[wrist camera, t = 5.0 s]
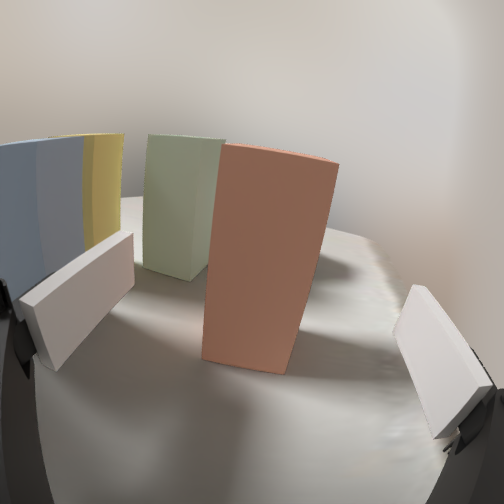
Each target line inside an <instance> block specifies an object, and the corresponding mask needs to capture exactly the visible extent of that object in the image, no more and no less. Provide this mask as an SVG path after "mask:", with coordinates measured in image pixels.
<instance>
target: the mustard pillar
mask: <svg viewBox="0 0 504 504" xmlns="http://www.w3.org/2000/svg"><path fill="white" fill-rule="evenodd" d="M75 136H84V147H83V168H82V207H83V229H84V243H85V252H86V251H88V250H89V249H91V248H92V247H94V246H96V245H97V244H99V243H100V242H102V241H103V240H105V239H107V238H108V237H110V236H111V235H113V234H115V233H116V232H118V231H120V195H121V170H122V153H123V142H124V134H80V135H79V134H78V135H66V136H55V137H48V138H57V137H75Z"/></svg>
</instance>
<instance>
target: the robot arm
mask: <svg viewBox="0 0 504 504" xmlns="http://www.w3.org/2000/svg"><path fill="white" fill-rule="evenodd" d="M134 285H135V277H134V248H133V233H132V232H126V231H121V230H120V231H118V232H116V233H115V234H113V235H111V236H110V237H108V238H107V239H105V240H103V241H102V242H100V243H99V244H97V245H96V246H94V247H92V248H91V249H89V250H88V251H86V252H85V253H83V254H82V255H80V256H79V257H77V258H76V259H74V260H73V261H71V262H70V263H68V264H67V265H65V266H64V267H63V268H61V269H60V270H58V271H55V272H53V273H50V274H49V275H47V276H46V277H44V278H43V279H42V280H41V281H39V282H37V283H36V284H35V286H32V287H31V288H29V289H28V290H27V291H25V292H24V293H23V294H21V295H20V296H19V297H17V298H16V299H15V300H13V301H11V297H10V294H9V290H8V287H7V283H6V281H5V280H4V279H2V278H0V504H54V501H53V498H52V494H51V491H50V487H49V483H48V479H47V475H46V470H45V466H44V461H43V456H42V450H41V444H40V438H39V431H38V422H37V413H36V400H35V378H34V361H33V358H32V356H33V355H34V354H35V353H36V352H37V354H38V356H39V359H40V361H41V363H42V364H43V365H45V366H46V367H48V368H50V369H52V370H54V371H55V372H57V371H58V369H59V368H60V367H61V366H62V365H63V363H64V362H65V361H66V360H67V359H68V357H69V356H70V355H71V354H72V353H73V352H74V350H75V349H76V348H77V347H78V346H79V345H80V344H81V342H82V341H83V340H84V339H85V338H86V337H87V336H88V335H89V333H90V332H91V331H92V330H93V329H94V328H95V327H96V326H97V325H98V323H99V322H100V321H101V320H102V319H103V318H104V317H105V316H106V315H107V314H108V313H109V311H110V310H111V309H112V308H113V307H114V306H115V305H116V304H117V303H118V302H119V301H120V300H121V299H122V298H123V297H124V295H125V294H126V293H127V292H128V291H129V290H130V289H131V288H132V287H133V286H134ZM392 333H393V335H394V337H395V339H396V342H397V344H398V346H399V349H400V351H401V353H402V356H403V358H404V361H405V363H406V365H407V368H408V370H409V373H410V375H411V378H412V381H413V383H414V386H415V388H416V391H417V394H418V396H419V399H420V402H421V405H422V408H423V410H424V413H425V416H426V419H427V422H428V425H429V428H430V431H431V434H432V438H433V439H439V438H445V437H448V436H449V435H450V434H451V433H452V432H453V431H454V430H455V429H456V428H457V427H458V428H459V431H460V434H459V435H458V436H457V437H456V438H455V439H453V440H452V441H451V442H450V443H449V444H448V445H447V446H446V447H445V448H444V450H443V452H445V451H446V450H448V449H449V448H450V447H452V448H451V450H450V452H448V454H449V455H448V458H447V460H446V463H445V465H444V467H443V470H442V472H441V474H440V476H439V478H438V480H437V483H436V485H435V487H434V489H433V491H432V493H431V495H430V497H429V498H428V500H427V502H426V504H504V389H499V390H498V389H497V387H496V386H495V384H494V382H493V381H492V379H491V377H490V376H489V374H488V372H487V371H486V369H485V367H483V364H482V362H481V361H480V360H479V358H478V356H477V355H476V353H475V352H474V350H473V349H472V348H471V347H470V346H469V345H468V344H467V342H466V341H465V340H464V338H463V337H462V335H461V334H460V332H459V331H458V329H457V328H456V327H455V325H454V324H453V322H452V321H451V319H450V318H449V317H448V315H447V314H446V313H445V312H444V310H443V309H442V307H441V306H440V305H439V303H438V302H437V301H436V299H435V298H434V297H433V295H432V294H431V293H430V292H429V290H428V289H427V288H426V287H425V286H420V285H415V284H413V285H412V288H411V290H410V293H409V295H408V297H407V300H406V302H405V304H404V307H403V309H402V311H401V314H400V316H399V318H398V320H397V322H396V324H395V327H394V329H393V331H392Z"/></svg>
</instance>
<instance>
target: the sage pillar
mask: <svg viewBox="0 0 504 504" xmlns="http://www.w3.org/2000/svg"><path fill="white" fill-rule="evenodd" d="M147 142H148V143H147V153H146V164H145V178H144V196H143V240H142V242H143V268H146V269H149V270H152V271H155V272H159V273H162V274H165V275H168V276H172V277H175V278H178V279H182V280H185V281H189V282H191V281H192V280H193V279H194V278H195V277H196V276H197V275H198V274H199V273H200V272H201V271H202V270H203V269H204V268H205V267H206V266H207V265H208V260H209V249H210V239H211V229H212V219H213V210H214V201H215V192H216V184H217V176H218V168H219V160H220V152H221V145H222V144H225V142H226V140H224V139H215V138H205V137H194V136H182V135H151V134H149V135H148V141H147Z"/></svg>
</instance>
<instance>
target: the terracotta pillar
mask: <svg viewBox="0 0 504 504" xmlns="http://www.w3.org/2000/svg"><path fill="white" fill-rule="evenodd" d="M338 168H339V164H338V163H335V162H333V161H330V160H327V159H325V158H321V157H316V156H311V155H307V154H301V153H296V152H291V151H285V150H279V149H273V148H267V147H261V146H254V145H247V144H222V145H221V152H220V160H219V168H218V176H217V184H216V192H215V201H214V210H213V219H212V229H211V239H210V249H209V260H208V271H207V284H206V296H205V310H204V325H203V342H202V359H203V360H207V361H212V362H216V363H221V364H226V365H231V366H236V367H241V368H246V369H252V370H258V371H263V372H270V373H276V374H283V375H284V374H285V371H286V368H287V364H288V361H289V358H290V355H291V352H292V349H293V346H294V343H295V339H296V336H297V333H298V330H299V326H300V323H301V320H302V316H303V313H304V309H305V306H306V302H307V299H308V295H309V292H310V288H311V284H312V280H313V277H314V273H315V269H316V265H317V261H318V258H319V254H320V250H321V245H322V241H323V237H324V233H325V229H326V224H327V220H328V216H329V211H330V207H331V202H332V198H333V193H334V188H335V183H336V178H337V173H338Z"/></svg>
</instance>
